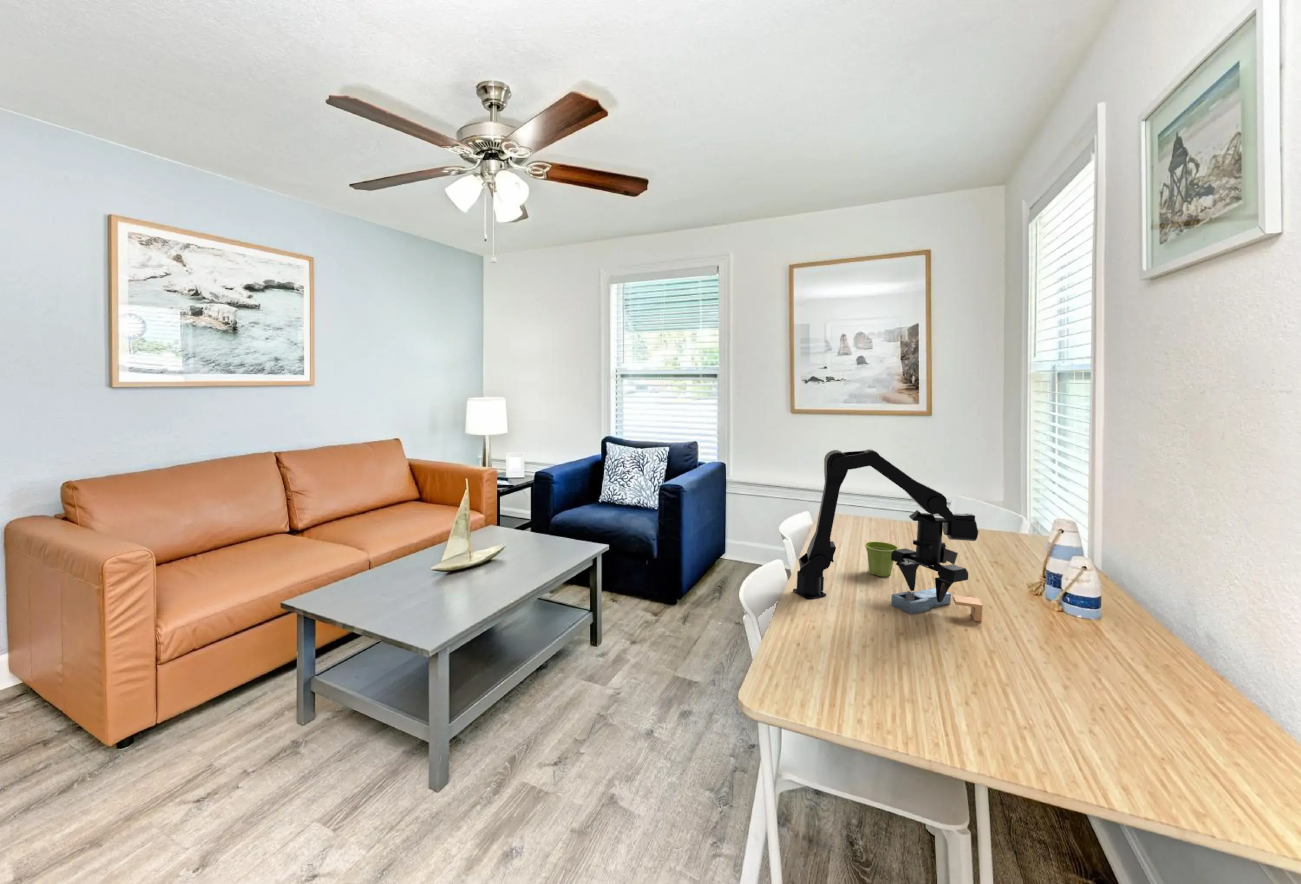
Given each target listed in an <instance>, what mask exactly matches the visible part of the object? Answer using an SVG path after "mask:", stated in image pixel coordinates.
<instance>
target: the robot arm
mask: <svg viewBox="0 0 1301 884" xmlns="http://www.w3.org/2000/svg"><path fill="white" fill-rule="evenodd" d="M864 467H865V468H866V467H871V468H872V469H874V470H876V472H878V473H880V474H881V475H883V476H884V477H885V478H887V479H888V480H889V481H891V482H892V483H893V484H895V485H896V486H898V487H899V488H900V489H902V490H903V491H904V492H905V493H906V494H907V495H908V496H909V497H910V498H911V499H912V500H913V501H914V502H915V503H916V504H917V505H918V506H919V507H920V508H921V509H922V510H924V512H925V511H926V512H927V513H921V512H920V511H919V510H918V509H917V510H915V511H914V512H913V513H912V514H910V515H908V516H909V519H911V520H912V521H913V522H917V529H916V531H917V532H916V539H914V540H912V544H913V545H915V547H916V548H915V550H913V549H909V548H898V550H894V551H893V552H892V553H891V560H892V561H894V562H896V563H895V564H896V566H898V568H899V570H900V572H901V574H902V576H903V578H904V580H905V582H906V584H907V586H908V588H909V591H910V592H915V588H916V580H917V579H916V578H917V570H918V568H919V567H920V566H921V567H924V568H927V569H929V570H932V571H935V572H937V575H938V577H935V578H934V583H935V588H936V597H937V602H939V603H940V602H942V600H943V599H944V597H945V595H946V593H947V592H948V591H949V589H950V587H951V586H952V585H953V584H955V583H958V582H963V581H968V580H969V572H968V570H967V568H966V567H963V566H959V565H956V564H955V563H956V561H957V557H958V554H959V552H957V551H953V550H951V549H948V548H946V547H947V545H946V543H945V542H943V535H944V536H947V538H948V540H953V541H956V540H957V541H966V542H968V541H969V542H975V541H976V540H977V539H978V535H979V529H978V524H977V521H976V515H975V514H973V513H953V512H952V511H951V509H950V508H949V507H948V506H947V505H948V498H946V496H945V495H944V494H943V493H940V491H938V490H935V489H934V488H932V487H930V486H929V485H928V486H927V485H926V484H924V483H921V482H920V481H917V480H915V479H913V478H912V477H910V476H909V475H908V474H906V473H905V472H903V470H901V469H899V468H898V467H897V466H895V465H894V464H893V463H891V462H890V461H889V460H887V459H885V458H884V457H883V456H881V455H880V454H879V453H878V452H877V451H875V450H874V449H871V448H870V449H866V450H856V451H844V452H842V451H841V450H839V449H833V450H831V451H828V452H827V453H826V455H824V461H823V472H824V473H823V474H824V477H823V478H824V485H823V490H822V496H821V501H820V506H819V512H818V516H817V522H816V529H815V532H814V534H813V536H812V538H811V540H810V542H809V544H808V547H807V550H806V552H805V553H804V554H803V555H802V556H801V557H800V558H798V564H799V570H797V573H796V587H795V588H793V589H792V592H794V593H796V594H797V595H799V596H801V597H803V598H805V599H807V600H811V599H817V598H823V597H826V596H827V593H825V592H824V583H825V581H824V580H825V579H824V571H825V570H827V569H829V567H831V566H830V565H831V563H834V562H835V561H834V555H835V553H836V549H837V547H836V545H835V543H834V541H832V540H831V535H832V530H833V526H834V521H835V520H834V519H835V515H836V510H837V504H838V500H839V494H840V488H841V487H842V484H843V483H844V481H845V478H846V477H847V474H848V471H850V470H855V469H860V468H864ZM935 515H939V516H940V517H935ZM947 562H948V563H950V564H947ZM943 564H947V565H943Z"/></svg>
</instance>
